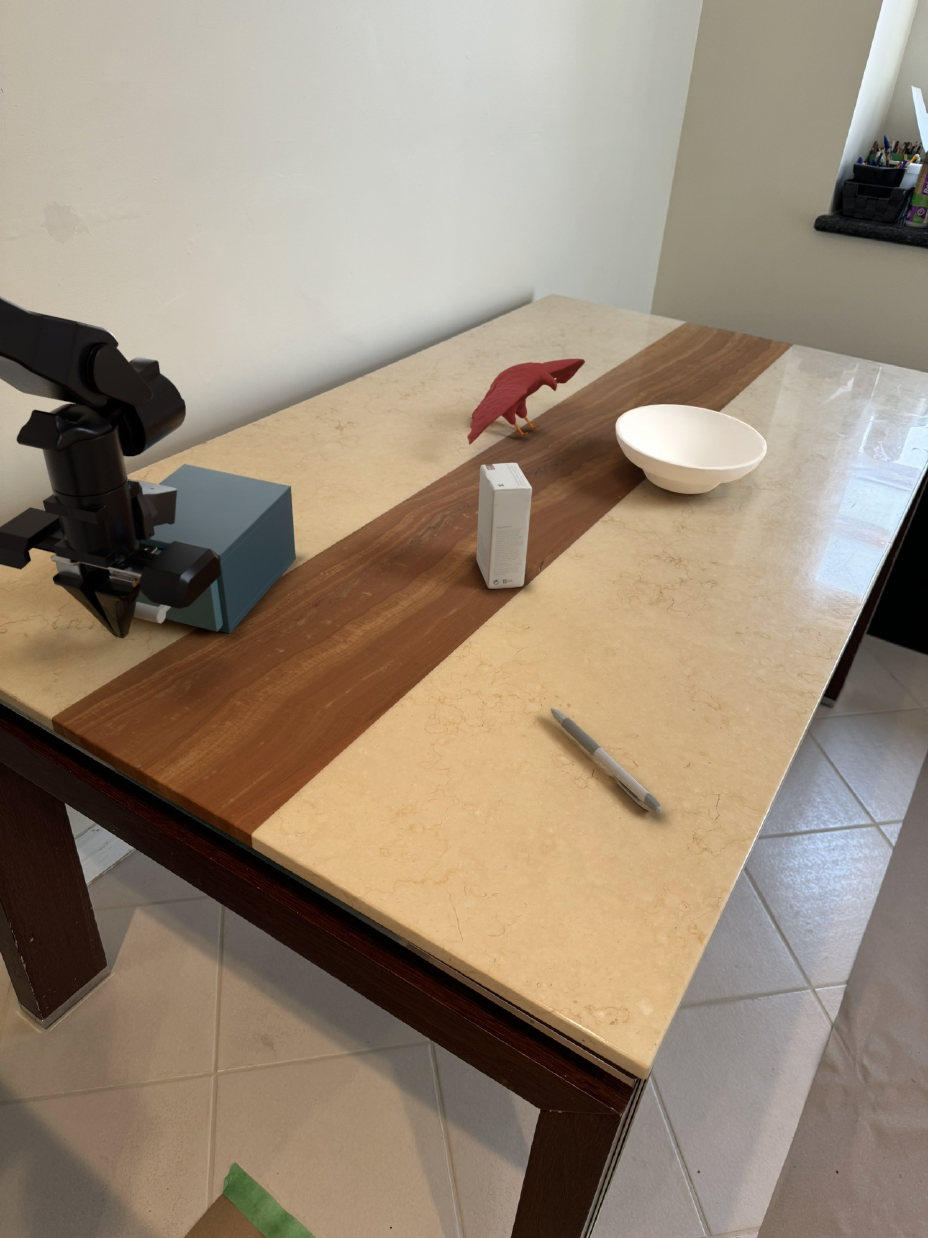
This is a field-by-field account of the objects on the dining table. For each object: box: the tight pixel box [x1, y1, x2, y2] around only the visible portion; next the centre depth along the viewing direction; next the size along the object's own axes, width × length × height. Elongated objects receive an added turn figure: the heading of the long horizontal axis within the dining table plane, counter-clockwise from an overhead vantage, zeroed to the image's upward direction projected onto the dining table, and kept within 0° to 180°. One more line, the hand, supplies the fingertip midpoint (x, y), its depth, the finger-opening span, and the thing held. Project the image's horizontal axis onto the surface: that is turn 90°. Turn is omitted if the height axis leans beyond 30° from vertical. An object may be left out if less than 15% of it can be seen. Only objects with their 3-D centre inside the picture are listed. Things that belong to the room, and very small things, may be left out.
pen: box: [550, 707, 663, 814], centre depth 74 cm, size 1×14×1 cm, turn 35°
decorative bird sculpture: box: [466, 358, 586, 446], centre depth 125 cm, size 28×9×15 cm
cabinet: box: [139, 463, 297, 634], centre depth 90 cm, size 15×13×9 cm
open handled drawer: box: [133, 548, 223, 632], centre depth 86 cm, size 18×11×7 cm, turn 163°
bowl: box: [615, 403, 768, 495], centre depth 116 cm, size 20×20×7 cm
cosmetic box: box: [476, 462, 533, 590], centre depth 93 cm, size 6×4×12 cm
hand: (122, 635), depth 79 cm, fingers closed
